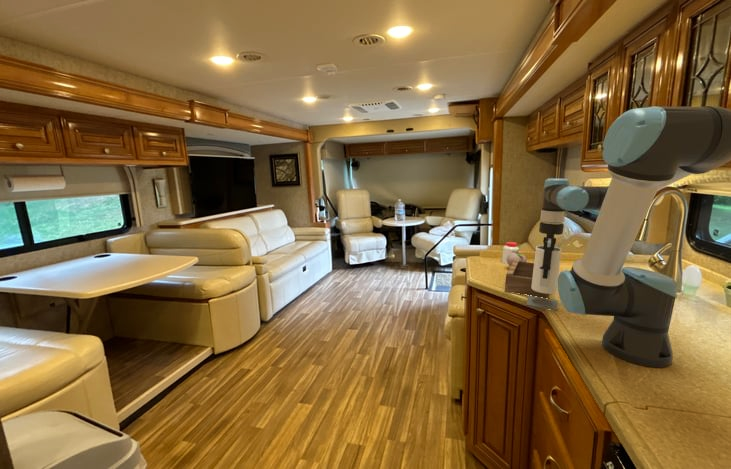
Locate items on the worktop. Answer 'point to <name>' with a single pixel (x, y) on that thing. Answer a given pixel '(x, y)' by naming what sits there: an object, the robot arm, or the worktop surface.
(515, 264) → the crate
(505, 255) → the pill bottle
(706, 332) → the worktop surface
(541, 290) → the cup
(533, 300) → the panel
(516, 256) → the decorative fruit
